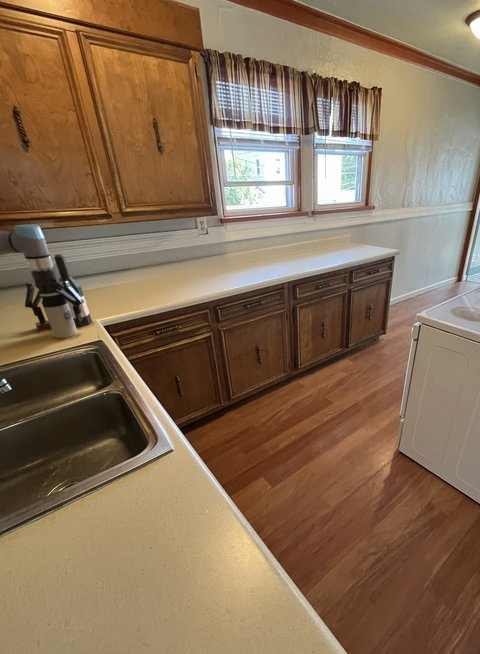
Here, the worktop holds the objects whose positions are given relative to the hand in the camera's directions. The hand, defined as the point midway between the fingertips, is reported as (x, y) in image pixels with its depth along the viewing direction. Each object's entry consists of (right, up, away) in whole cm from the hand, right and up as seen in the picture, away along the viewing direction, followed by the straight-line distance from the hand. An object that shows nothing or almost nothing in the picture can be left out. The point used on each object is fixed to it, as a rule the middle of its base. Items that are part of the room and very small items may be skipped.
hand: (61, 322), depth 131 cm
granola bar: (-12, -1, +12) cm, 17 cm away
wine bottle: (-1, 0, +13) cm, 13 cm away
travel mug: (0, -5, +3) cm, 6 cm away
